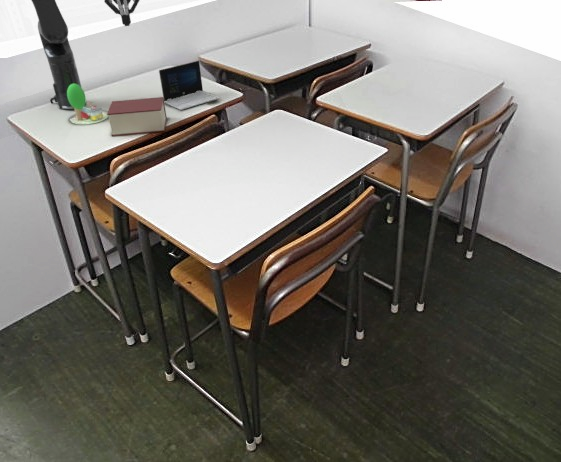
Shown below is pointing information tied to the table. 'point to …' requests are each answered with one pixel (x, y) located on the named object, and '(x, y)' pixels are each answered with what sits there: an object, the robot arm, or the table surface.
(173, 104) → the laptop
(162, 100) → the thick red book
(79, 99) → the train set
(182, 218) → the table surface
